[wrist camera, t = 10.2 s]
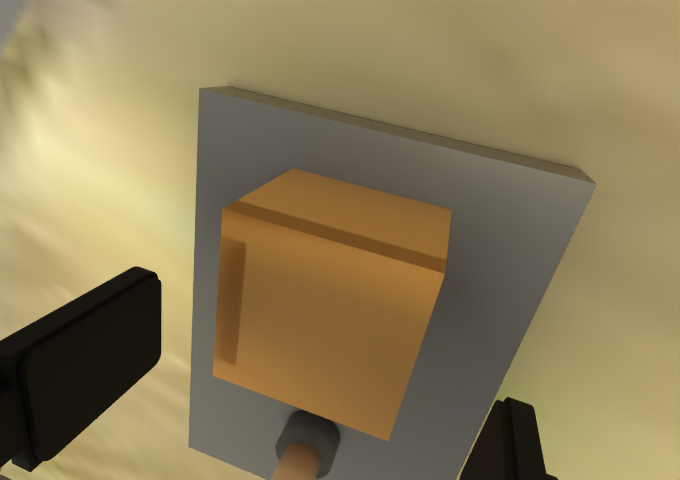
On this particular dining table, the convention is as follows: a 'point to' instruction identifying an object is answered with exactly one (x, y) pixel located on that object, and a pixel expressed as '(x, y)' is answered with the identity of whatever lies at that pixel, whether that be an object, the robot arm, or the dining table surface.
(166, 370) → the dining table surface
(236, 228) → the orange panelled cube
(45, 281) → the dining table surface
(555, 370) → the dining table surface
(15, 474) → the dining table surface
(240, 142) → the plate
